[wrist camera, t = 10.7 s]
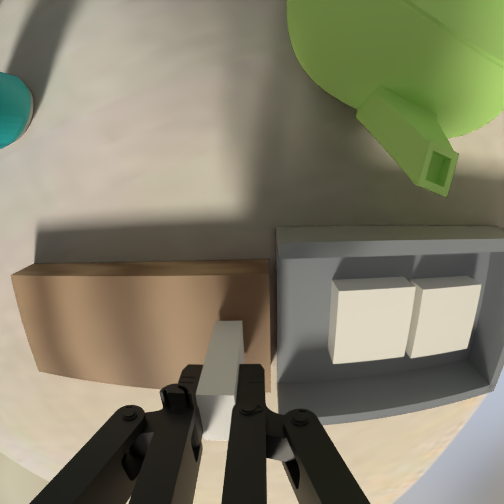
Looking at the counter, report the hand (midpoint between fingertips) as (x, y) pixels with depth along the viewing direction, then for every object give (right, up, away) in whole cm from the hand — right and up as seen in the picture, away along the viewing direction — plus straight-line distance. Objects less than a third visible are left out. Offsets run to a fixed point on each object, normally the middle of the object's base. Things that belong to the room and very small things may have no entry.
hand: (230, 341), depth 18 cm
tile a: (+9, +1, +2) cm, 9 cm away
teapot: (+10, +19, -1) cm, 21 cm away
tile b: (+14, 0, 0) cm, 14 cm away
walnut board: (-7, +1, +4) cm, 8 cm away
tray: (+11, +1, +3) cm, 12 cm away
